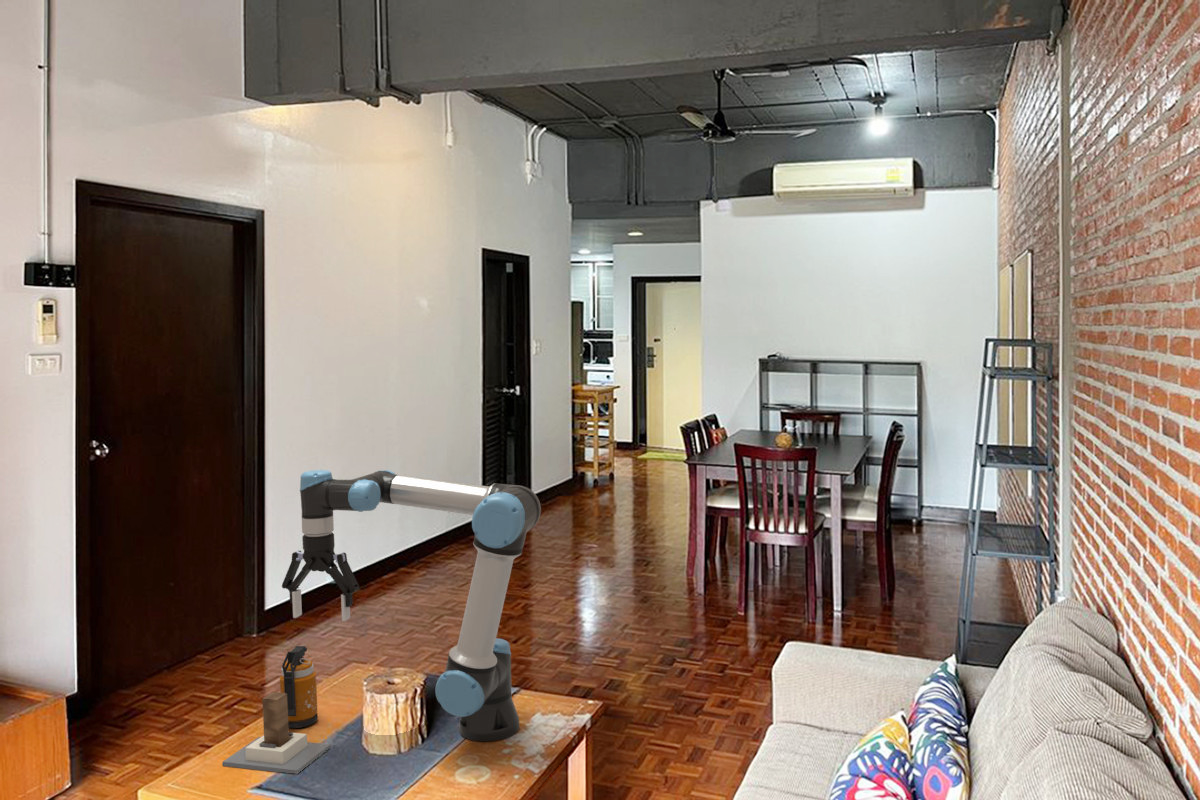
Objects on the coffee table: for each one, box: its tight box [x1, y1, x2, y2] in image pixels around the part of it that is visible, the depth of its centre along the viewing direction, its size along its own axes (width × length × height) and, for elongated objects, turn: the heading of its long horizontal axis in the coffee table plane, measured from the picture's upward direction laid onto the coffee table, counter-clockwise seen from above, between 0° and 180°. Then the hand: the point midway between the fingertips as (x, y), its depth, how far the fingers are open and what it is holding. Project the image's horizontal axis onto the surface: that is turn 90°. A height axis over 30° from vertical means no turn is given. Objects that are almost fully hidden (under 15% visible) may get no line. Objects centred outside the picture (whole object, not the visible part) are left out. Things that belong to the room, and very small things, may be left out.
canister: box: [279, 645, 319, 729], centre depth 243 cm, size 9×11×20 cm
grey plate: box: [221, 731, 331, 775], centre depth 225 cm, size 20×14×5 cm
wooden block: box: [261, 691, 290, 747], centre depth 224 cm, size 4×4×14 cm
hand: (321, 618), depth 233 cm, fingers open, 13 cm apart
